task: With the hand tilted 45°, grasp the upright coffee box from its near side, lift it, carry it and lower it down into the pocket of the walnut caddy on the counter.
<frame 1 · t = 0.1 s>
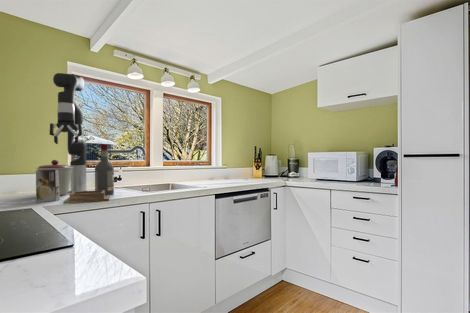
hand: (66, 144, 143), 29 cm above the countertop, tool pointing down, fingers open, 8 cm apart
coffee box: (48, 201, 144), on the countertop
walnut caddy: (88, 199, 146), on the countertop
liquor: (104, 195, 165), on the countertop
canister: (55, 195, 164), on the countertop
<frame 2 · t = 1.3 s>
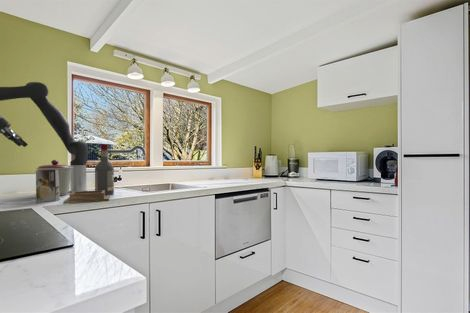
hand: (23, 145, 143), 29 cm above the countertop, tool tilted 45°, fingers open, 8 cm apart
nothing on the countertop moved.
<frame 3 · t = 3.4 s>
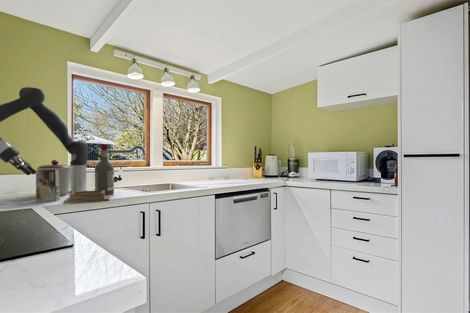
hand: (32, 173, 142), 14 cm above the countertop, tool tilted 45°, fingers open, 8 cm apart
nothing on the countertop moved.
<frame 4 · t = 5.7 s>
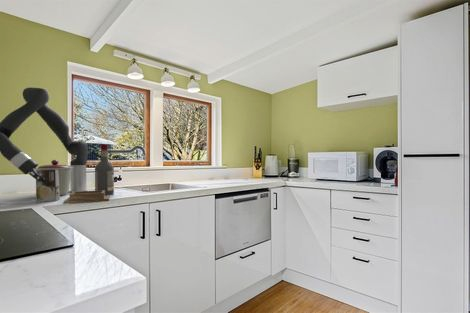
hand: (51, 185, 145), 8 cm above the countertop, tool tilted 45°, fingers closed on coffee box, 7 cm apart
coffee box: (48, 201, 144), on the countertop, touching gripper
everything else where it was.
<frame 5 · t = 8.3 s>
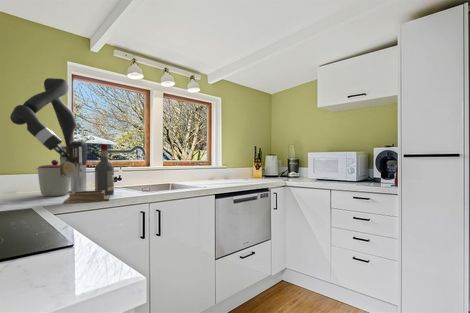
hand: (75, 161, 145), 20 cm above the countertop, tool tilted 45°, fingers closed on coffee box, 7 cm apart
coffee box: (71, 177, 145), point 12 cm above the countertop, touching gripper
everything else where it was.
when the fingers open (10 cm above the countertop, at t = 11.3 s): coffee box drops 1 cm, resting on walnut caddy.
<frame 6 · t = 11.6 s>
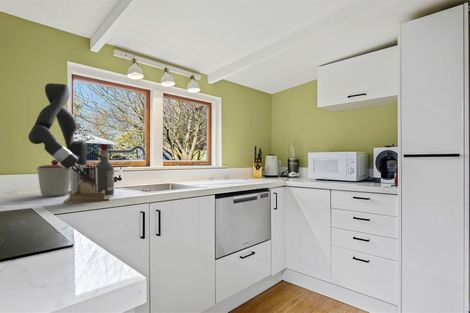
hand: (91, 179, 146), 11 cm above the countertop, tool tilted 45°, fingers open, 8 cm apart
coffee box: (87, 198, 146), point 1 cm above the countertop, touching walnut caddy
everything else where it was.
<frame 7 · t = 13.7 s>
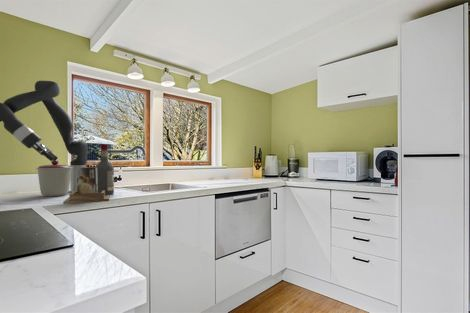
hand: (54, 159, 142), 21 cm above the countertop, tool tilted 45°, fingers open, 8 cm apart
nothing on the countertop moved.
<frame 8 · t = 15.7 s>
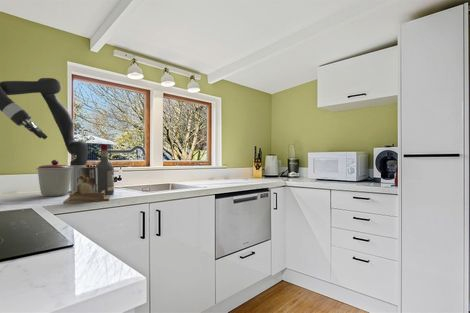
hand: (44, 137, 143), 33 cm above the countertop, tool tilted 45°, fingers open, 8 cm apart
nothing on the countertop moved.
at the end: coffee box inside the target area on the walnut caddy (0.4 cm from its centre), point 0.8 cm above the walnut caddy's base; coffee box tilted 0°; the gripper is holding nothing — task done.
